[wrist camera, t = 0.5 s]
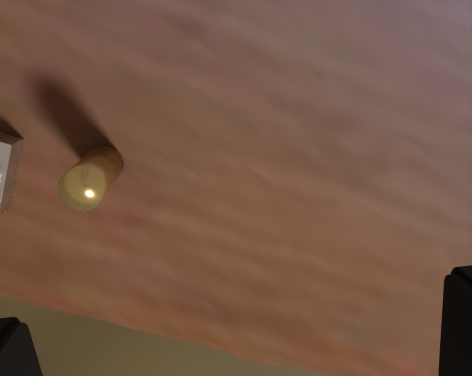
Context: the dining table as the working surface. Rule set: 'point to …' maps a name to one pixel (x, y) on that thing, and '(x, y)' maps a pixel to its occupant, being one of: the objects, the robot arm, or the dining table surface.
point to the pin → (90, 178)
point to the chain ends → (8, 168)
